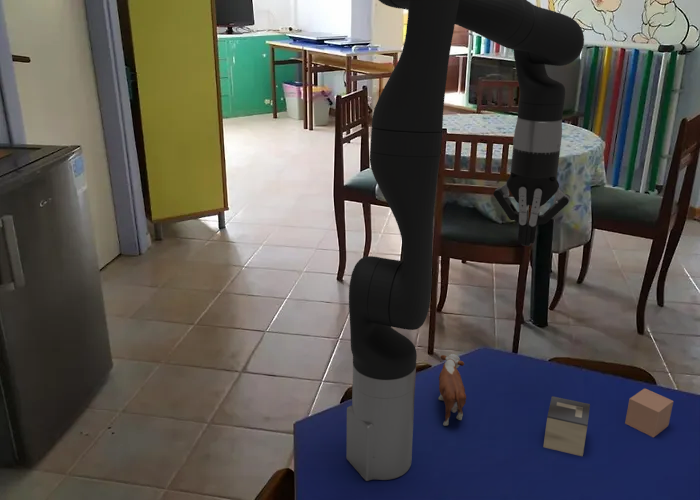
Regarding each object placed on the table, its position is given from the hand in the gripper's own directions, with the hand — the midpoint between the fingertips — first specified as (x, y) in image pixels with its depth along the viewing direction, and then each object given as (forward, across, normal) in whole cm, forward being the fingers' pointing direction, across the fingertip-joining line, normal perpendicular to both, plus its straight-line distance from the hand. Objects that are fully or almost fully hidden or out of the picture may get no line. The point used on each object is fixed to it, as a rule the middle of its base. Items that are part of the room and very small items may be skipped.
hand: (526, 244), depth 117 cm
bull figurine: (+27, +8, +14) cm, 32 cm away
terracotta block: (+27, -24, +6) cm, 36 cm away
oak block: (+21, -11, +16) cm, 28 cm away
